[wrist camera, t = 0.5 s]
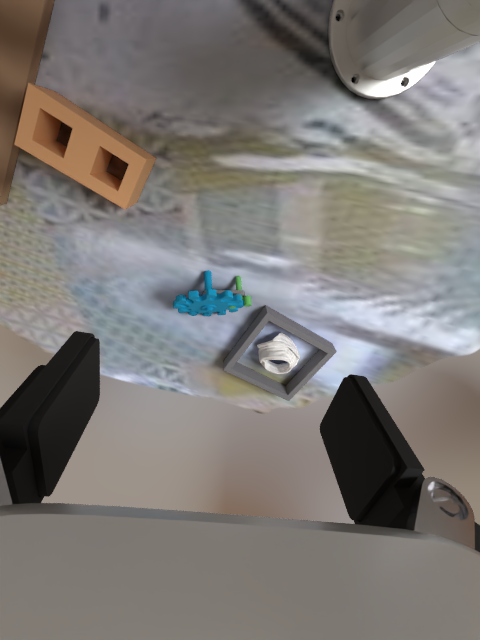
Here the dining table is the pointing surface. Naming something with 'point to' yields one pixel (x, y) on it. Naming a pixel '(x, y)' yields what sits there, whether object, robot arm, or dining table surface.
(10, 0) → the locating board
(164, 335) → the dining table surface
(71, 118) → the block with square holes
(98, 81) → the dining table surface
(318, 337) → the frame
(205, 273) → the gear
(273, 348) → the whipped cream
